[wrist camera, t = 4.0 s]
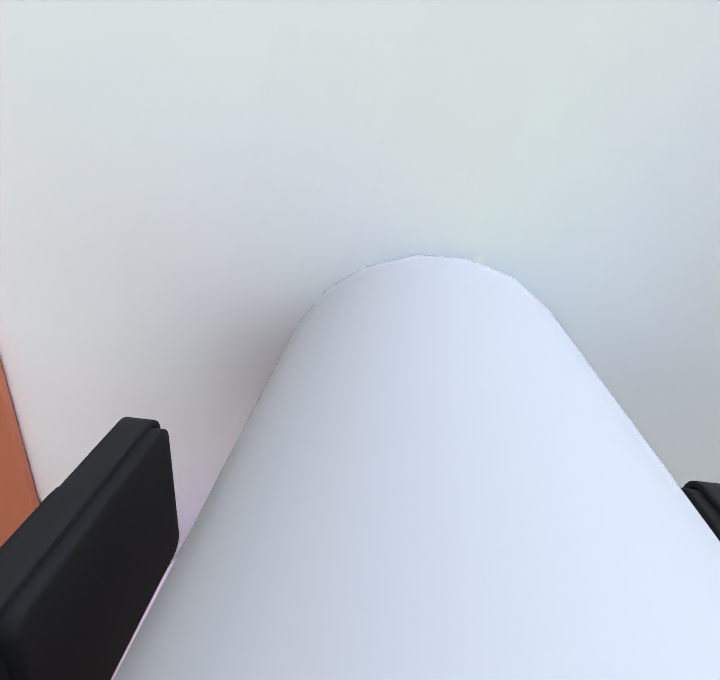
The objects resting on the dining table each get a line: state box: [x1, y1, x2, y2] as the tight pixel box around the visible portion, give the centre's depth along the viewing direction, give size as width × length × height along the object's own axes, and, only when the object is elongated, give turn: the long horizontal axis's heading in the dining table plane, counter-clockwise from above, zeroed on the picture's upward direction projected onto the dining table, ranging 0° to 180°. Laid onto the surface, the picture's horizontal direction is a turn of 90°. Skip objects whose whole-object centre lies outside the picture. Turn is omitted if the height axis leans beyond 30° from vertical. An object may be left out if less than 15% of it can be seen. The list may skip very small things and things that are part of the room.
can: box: [113, 255, 720, 680], centre depth 8 cm, size 8×8×12 cm
